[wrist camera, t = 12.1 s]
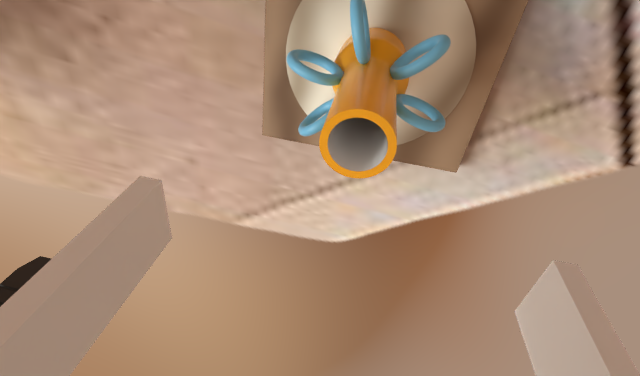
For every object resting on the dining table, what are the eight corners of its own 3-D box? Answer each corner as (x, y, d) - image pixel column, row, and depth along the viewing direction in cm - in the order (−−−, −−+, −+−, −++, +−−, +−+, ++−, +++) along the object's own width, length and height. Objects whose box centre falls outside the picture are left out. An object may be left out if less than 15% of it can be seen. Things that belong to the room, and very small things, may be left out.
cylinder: (472, 33, 28) (532, 104, 16) (406, 140, 34) (413, 251, 22) (329, -34, 27) (275, -13, 15) (288, 89, 33) (226, 175, 21)
